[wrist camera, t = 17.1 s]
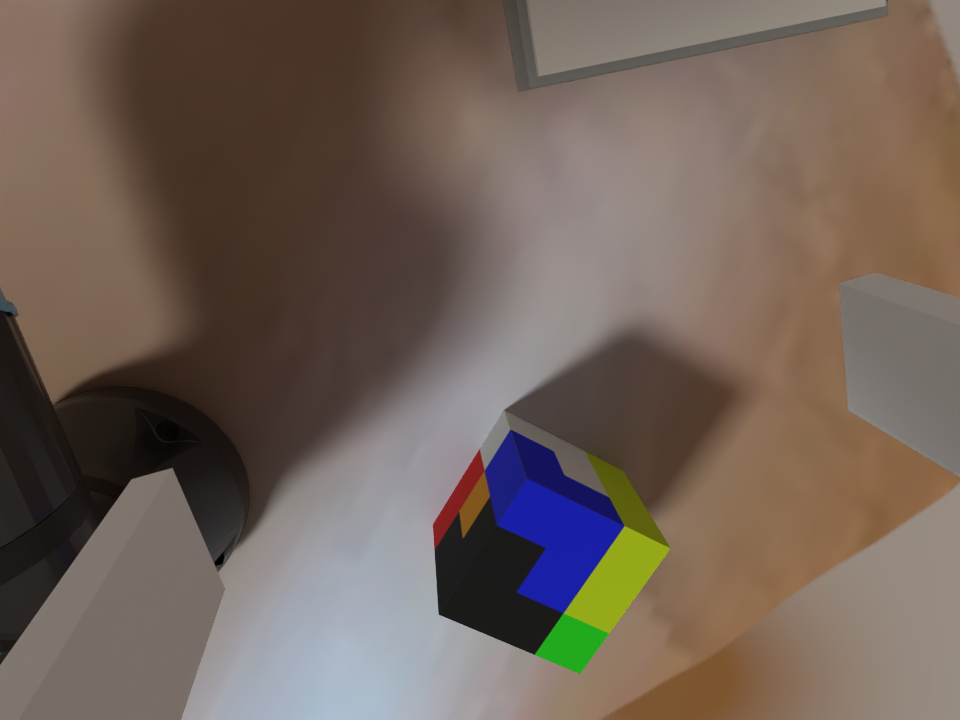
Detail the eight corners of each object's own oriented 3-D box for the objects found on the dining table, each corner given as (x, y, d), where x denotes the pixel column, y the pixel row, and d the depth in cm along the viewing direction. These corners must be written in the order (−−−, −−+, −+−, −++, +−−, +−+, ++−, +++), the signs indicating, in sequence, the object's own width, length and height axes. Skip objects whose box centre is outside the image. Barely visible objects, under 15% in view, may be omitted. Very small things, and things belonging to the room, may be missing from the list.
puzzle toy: (503, 409, 49) (526, 478, 40) (622, 470, 52) (670, 548, 42) (433, 523, 52) (438, 614, 42) (549, 576, 54) (580, 673, 44)
